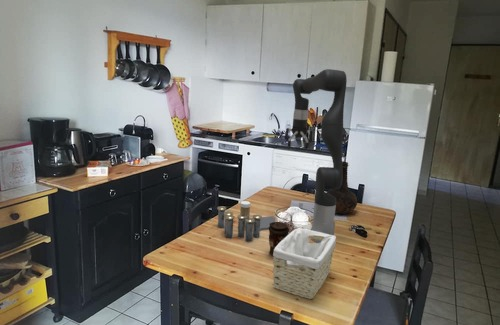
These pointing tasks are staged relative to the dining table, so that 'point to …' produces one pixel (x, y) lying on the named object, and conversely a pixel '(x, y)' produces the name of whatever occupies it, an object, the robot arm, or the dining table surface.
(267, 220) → the rubber mat
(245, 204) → the sprinkles bottle
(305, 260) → the storage basket
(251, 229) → the posts
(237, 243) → the dining table surface
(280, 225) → the coffee cup
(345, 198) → the glass bottle
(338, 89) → the robot arm
